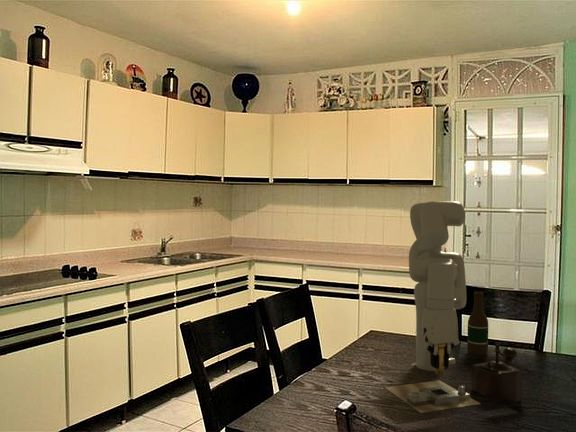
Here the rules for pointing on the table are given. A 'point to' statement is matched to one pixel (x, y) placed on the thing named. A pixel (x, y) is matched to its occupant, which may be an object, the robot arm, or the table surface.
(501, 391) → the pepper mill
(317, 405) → the table surface
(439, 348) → the brass pin
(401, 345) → the table surface
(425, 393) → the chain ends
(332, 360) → the table surface
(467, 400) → the maple board
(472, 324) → the beer bottle
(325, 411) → the table surface
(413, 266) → the robot arm
